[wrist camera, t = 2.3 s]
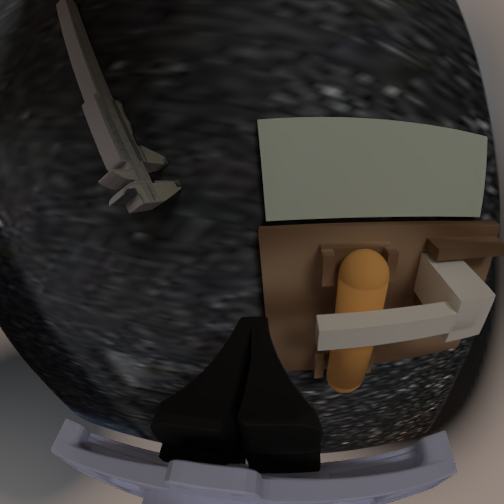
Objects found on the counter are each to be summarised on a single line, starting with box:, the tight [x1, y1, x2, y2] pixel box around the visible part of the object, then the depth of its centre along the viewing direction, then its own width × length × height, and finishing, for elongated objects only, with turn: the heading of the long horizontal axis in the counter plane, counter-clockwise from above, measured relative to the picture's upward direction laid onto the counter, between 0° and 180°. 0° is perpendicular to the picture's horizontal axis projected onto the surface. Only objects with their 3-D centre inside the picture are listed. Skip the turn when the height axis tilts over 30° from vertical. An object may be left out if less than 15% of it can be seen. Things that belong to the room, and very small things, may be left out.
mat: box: [257, 117, 487, 221], centre depth 14 cm, size 6×16×1 cm, turn 95°
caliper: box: [56, 0, 181, 213], centre depth 10 cm, size 20×1×6 cm, turn 29°
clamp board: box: [258, 221, 504, 378], centre depth 18 cm, size 13×19×3 cm
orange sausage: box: [327, 249, 390, 393], centre depth 17 cm, size 12×3×3 cm, turn 5°
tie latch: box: [315, 253, 496, 351], centre depth 14 cm, size 3×11×6 cm, turn 95°
